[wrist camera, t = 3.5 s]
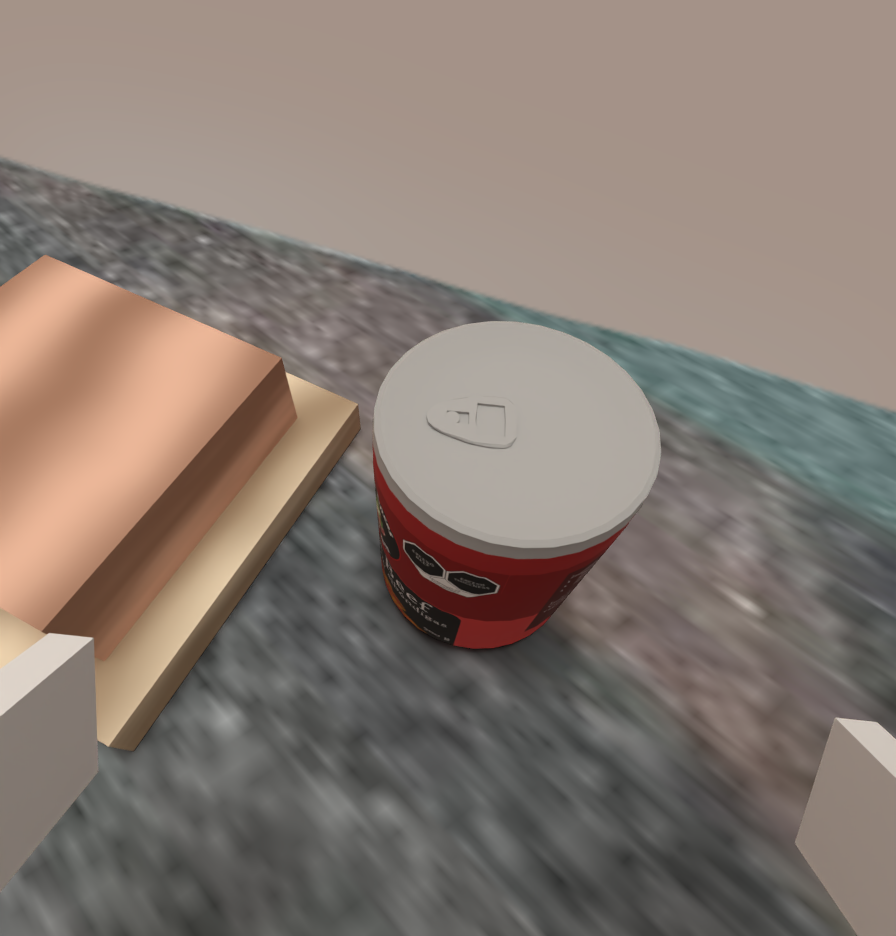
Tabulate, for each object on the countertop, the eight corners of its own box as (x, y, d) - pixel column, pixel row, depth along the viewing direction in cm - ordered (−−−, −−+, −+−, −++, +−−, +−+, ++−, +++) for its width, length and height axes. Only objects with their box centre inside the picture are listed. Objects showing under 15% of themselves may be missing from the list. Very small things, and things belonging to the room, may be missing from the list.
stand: (360, 428, 28) (351, 343, 23) (133, 751, 20) (40, 734, 15) (105, 314, 30) (45, 214, 25) (-185, 558, 22) (-359, 486, 17)
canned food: (369, 504, 26) (351, 332, 16) (532, 477, 27) (603, 304, 18) (399, 674, 22) (399, 579, 12) (587, 632, 23) (714, 518, 14)
